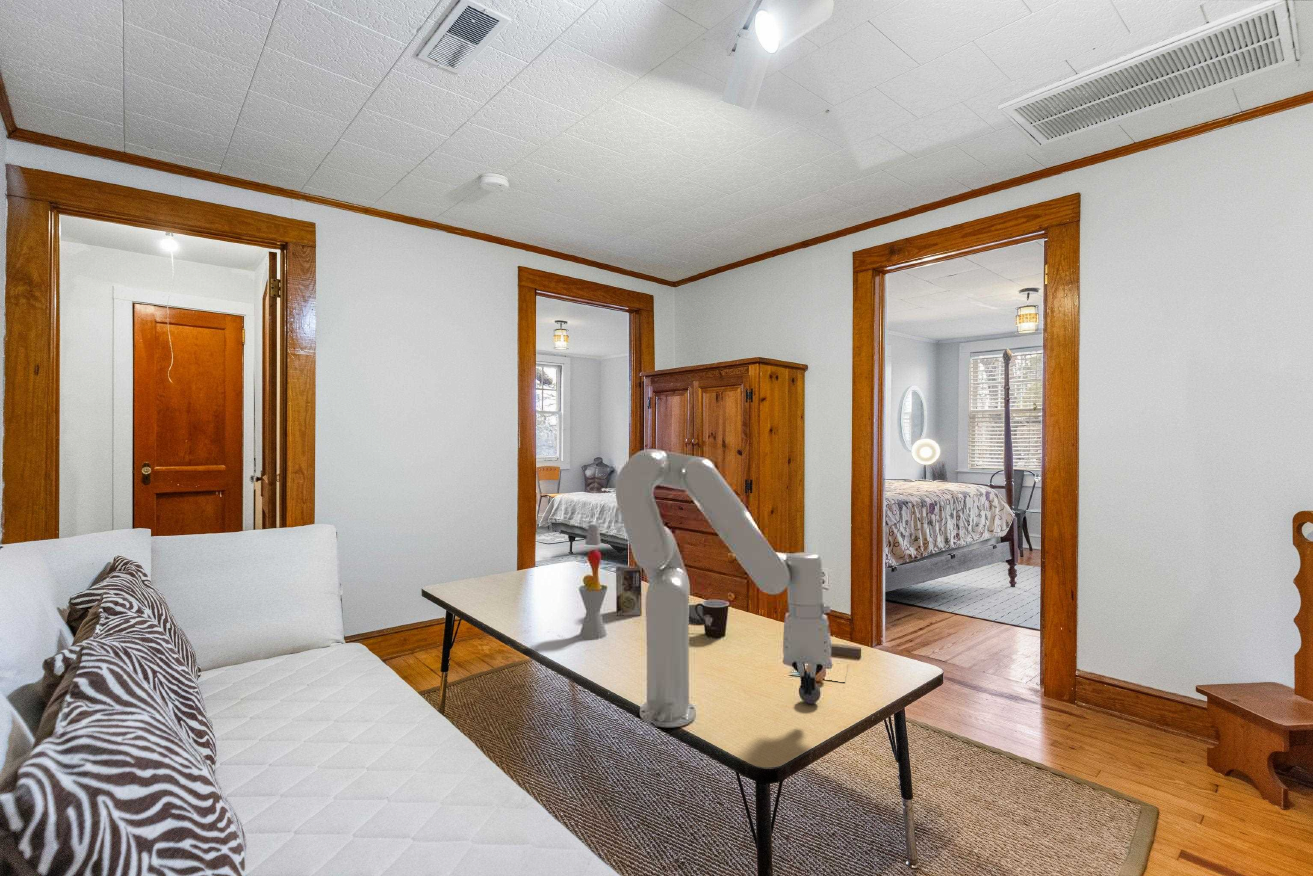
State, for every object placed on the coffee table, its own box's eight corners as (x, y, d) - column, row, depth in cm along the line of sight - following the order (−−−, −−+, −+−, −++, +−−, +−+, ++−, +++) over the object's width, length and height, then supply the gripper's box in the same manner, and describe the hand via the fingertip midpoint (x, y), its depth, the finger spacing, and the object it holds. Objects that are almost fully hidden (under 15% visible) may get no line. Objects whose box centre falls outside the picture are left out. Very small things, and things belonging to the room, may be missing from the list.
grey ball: (819, 709, 140) (819, 687, 140) (797, 705, 142) (797, 684, 142) (821, 700, 145) (821, 679, 145) (800, 697, 147) (800, 676, 147)
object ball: (825, 685, 154) (825, 666, 154) (805, 683, 155) (805, 663, 155) (827, 678, 158) (827, 659, 158) (807, 675, 160) (807, 656, 160)
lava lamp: (609, 630, 197) (609, 522, 197) (604, 640, 188) (604, 526, 188) (582, 630, 198) (582, 522, 198) (575, 639, 189) (575, 526, 189)
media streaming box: (670, 617, 214) (670, 608, 214) (700, 609, 223) (700, 601, 223) (699, 627, 202) (699, 618, 202) (730, 618, 212) (730, 610, 212)
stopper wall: (860, 658, 173) (860, 649, 173) (789, 649, 180) (789, 640, 180) (861, 655, 175) (861, 647, 175) (790, 647, 182) (790, 638, 182)
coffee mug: (733, 637, 191) (733, 605, 191) (709, 640, 188) (709, 608, 188) (716, 626, 202) (716, 596, 201) (692, 629, 198) (692, 598, 198)
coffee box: (641, 610, 220) (641, 565, 220) (641, 615, 214) (641, 569, 214) (616, 610, 220) (616, 565, 220) (615, 615, 214) (615, 569, 214)
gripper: (842, 607, 136) (844, 690, 136) (774, 603, 141) (777, 682, 141) (839, 617, 129) (842, 704, 129) (768, 612, 134) (771, 695, 134)
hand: (808, 692), depth 135 cm, fingers closed
